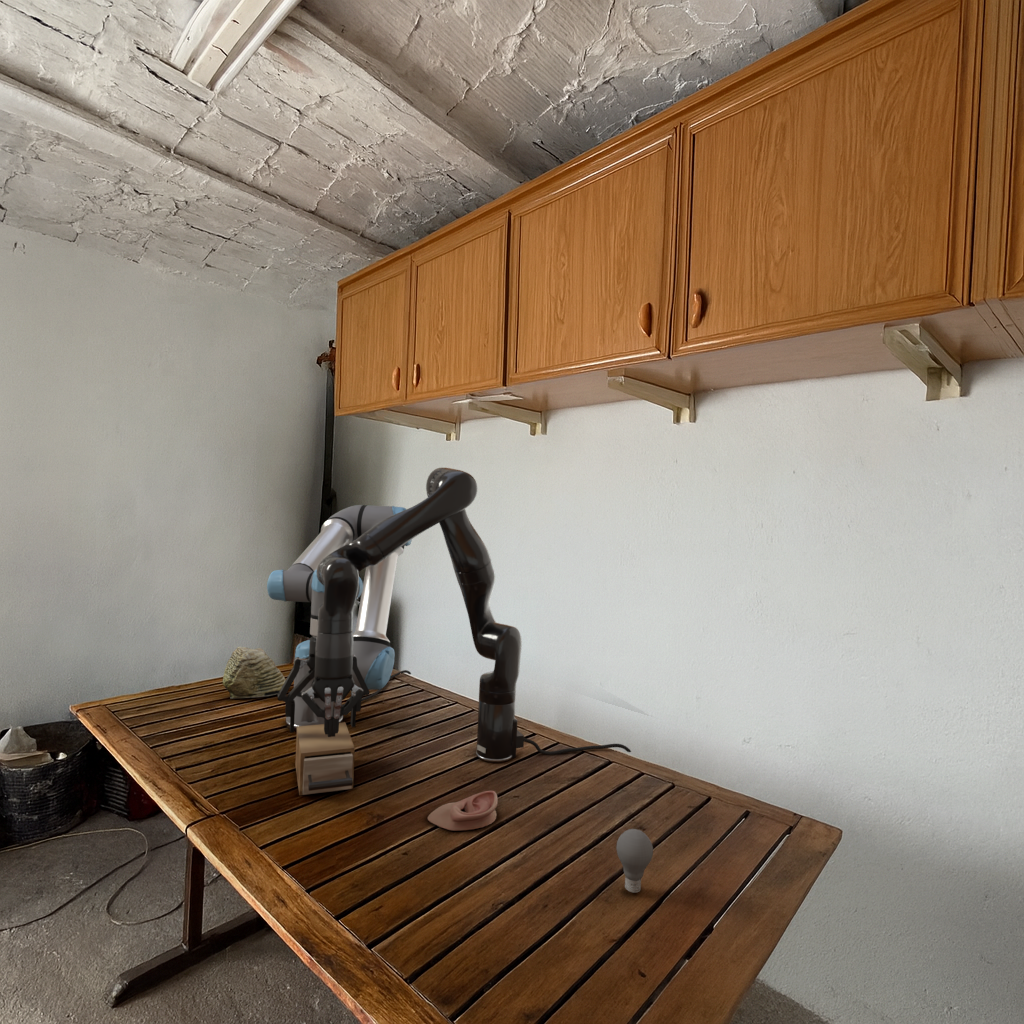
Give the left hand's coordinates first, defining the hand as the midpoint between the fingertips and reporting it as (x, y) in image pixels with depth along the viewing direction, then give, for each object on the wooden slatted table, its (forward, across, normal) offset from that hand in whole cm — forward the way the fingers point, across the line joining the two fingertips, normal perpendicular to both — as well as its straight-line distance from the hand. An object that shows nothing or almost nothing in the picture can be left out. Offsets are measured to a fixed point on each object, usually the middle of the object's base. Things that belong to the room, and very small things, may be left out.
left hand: (322, 728), depth 146 cm
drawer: (+9, 0, -8) cm, 12 cm away
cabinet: (+10, 0, -3) cm, 10 cm away
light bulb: (+10, +45, -61) cm, 77 cm away
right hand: (-4, 0, -16) cm, 16 cm away
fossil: (+9, -15, +62) cm, 64 cm away
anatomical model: (+10, +25, -30) cm, 40 cm away
